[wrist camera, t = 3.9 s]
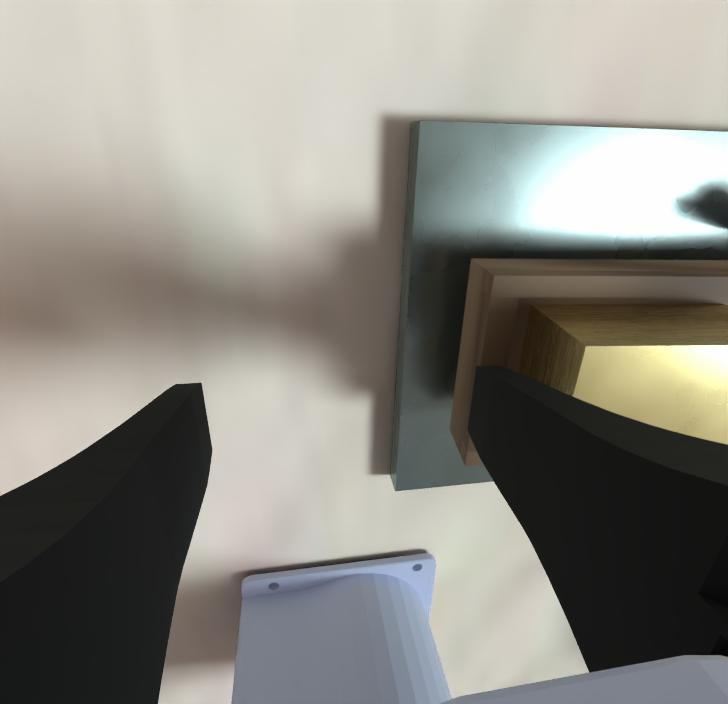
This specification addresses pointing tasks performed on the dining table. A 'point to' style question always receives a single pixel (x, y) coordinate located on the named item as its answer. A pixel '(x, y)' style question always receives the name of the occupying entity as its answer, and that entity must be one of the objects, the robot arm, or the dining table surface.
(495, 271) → the brown long flat tray
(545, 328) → the block
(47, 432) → the dining table surface
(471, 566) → the dining table surface
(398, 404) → the stand
